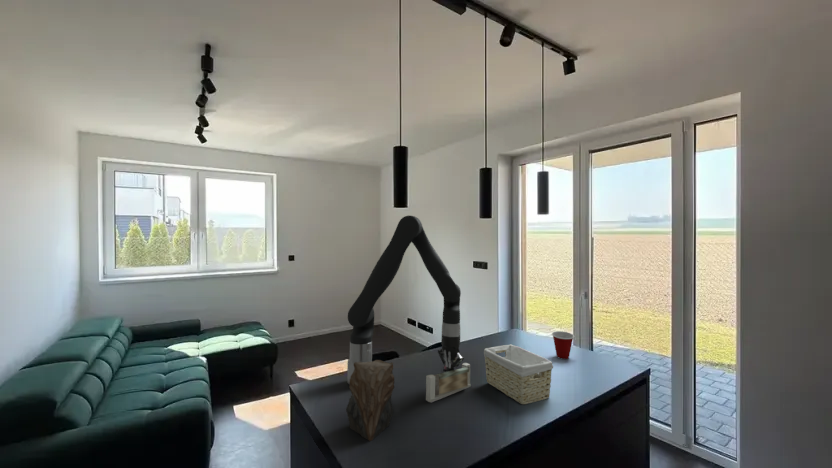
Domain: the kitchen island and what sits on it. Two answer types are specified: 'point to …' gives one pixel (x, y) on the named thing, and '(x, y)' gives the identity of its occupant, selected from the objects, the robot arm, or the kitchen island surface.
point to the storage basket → (518, 373)
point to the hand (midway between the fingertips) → (450, 376)
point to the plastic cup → (562, 343)
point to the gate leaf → (451, 380)
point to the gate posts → (432, 397)
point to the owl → (370, 398)
